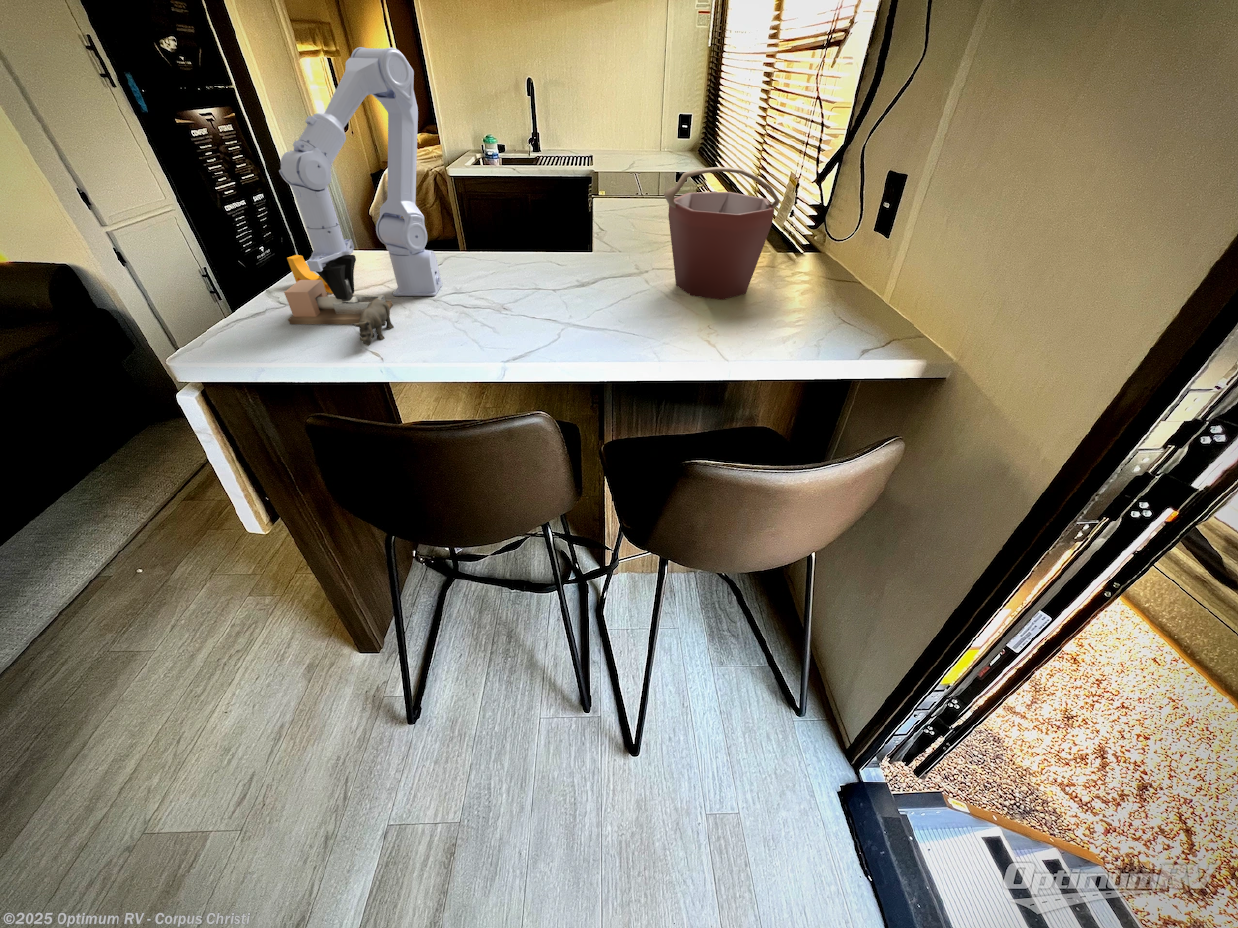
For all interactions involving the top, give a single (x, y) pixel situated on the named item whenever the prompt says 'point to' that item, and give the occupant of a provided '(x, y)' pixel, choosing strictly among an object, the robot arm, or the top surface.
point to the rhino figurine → (374, 321)
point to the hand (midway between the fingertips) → (345, 296)
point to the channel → (356, 304)
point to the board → (328, 317)
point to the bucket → (717, 236)
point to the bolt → (335, 299)
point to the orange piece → (304, 271)
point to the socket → (305, 297)
